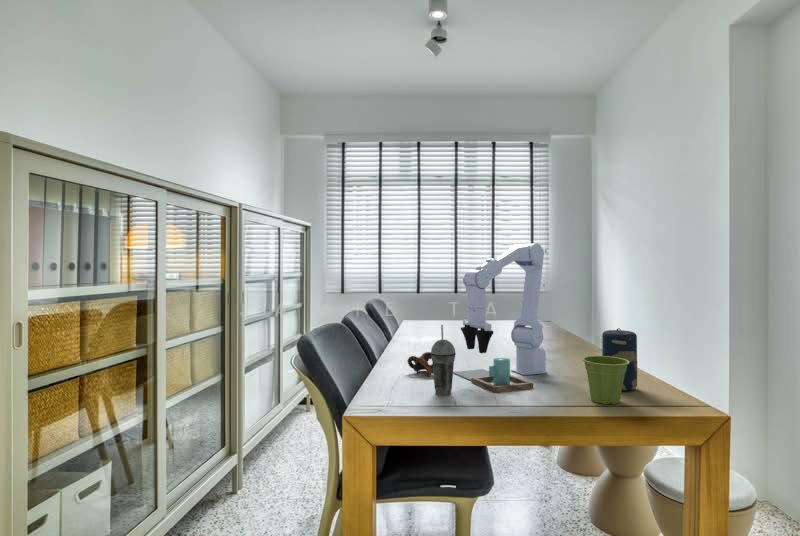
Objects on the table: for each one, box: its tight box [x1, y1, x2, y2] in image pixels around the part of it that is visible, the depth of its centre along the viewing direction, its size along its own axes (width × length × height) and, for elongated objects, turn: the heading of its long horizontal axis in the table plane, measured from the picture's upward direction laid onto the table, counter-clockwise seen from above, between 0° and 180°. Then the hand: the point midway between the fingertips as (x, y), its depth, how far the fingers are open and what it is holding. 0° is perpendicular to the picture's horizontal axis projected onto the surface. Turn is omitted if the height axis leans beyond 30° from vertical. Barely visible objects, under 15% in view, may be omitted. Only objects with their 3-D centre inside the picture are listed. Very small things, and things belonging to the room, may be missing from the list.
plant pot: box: [581, 355, 630, 405], centre depth 136 cm, size 12×12×11 cm
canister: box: [601, 327, 638, 391], centre depth 150 cm, size 10×10×18 cm
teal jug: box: [488, 357, 511, 386], centre depth 154 cm, size 7×5×8 cm
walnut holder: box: [471, 374, 534, 393], centre depth 154 cm, size 13×13×2 cm
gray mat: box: [453, 368, 489, 382], centre depth 168 cm, size 12×12×1 cm
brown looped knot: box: [406, 351, 434, 378], centre depth 171 cm, size 12×10×8 cm
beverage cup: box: [430, 324, 457, 397], centre depth 145 cm, size 7×7×20 cm
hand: (476, 350), depth 158 cm, fingers open, 7 cm apart
